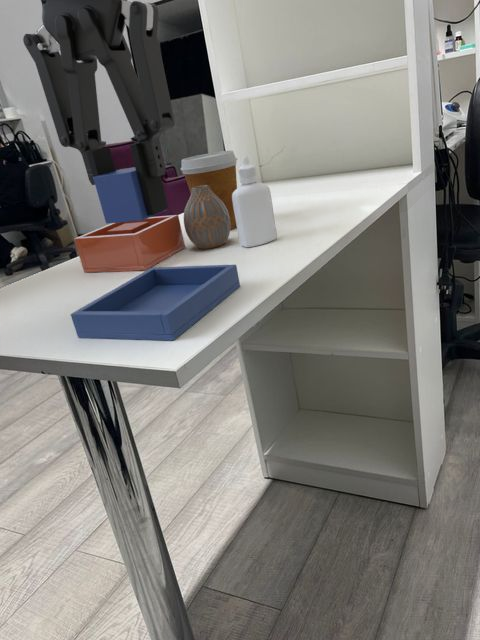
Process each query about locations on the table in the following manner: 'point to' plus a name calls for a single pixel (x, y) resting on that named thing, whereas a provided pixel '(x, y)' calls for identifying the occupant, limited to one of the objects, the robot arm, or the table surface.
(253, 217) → the eye dropper bottle
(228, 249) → the table surface
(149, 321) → the blue tray
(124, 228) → the rust block
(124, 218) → the blue block
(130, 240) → the terracotta bin
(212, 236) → the vase
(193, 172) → the disposable coffee cup
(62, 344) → the table surface
